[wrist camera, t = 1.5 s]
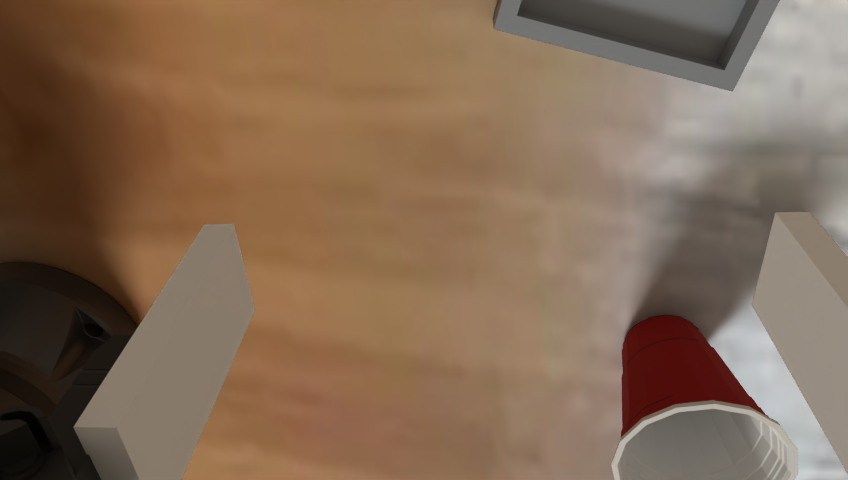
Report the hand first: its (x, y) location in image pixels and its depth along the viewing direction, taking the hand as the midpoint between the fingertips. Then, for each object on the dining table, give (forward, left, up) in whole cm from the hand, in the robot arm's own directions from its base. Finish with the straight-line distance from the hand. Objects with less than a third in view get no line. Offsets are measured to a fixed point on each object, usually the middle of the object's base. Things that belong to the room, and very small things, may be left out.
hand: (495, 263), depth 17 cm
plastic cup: (+20, -20, -26) cm, 38 cm away
